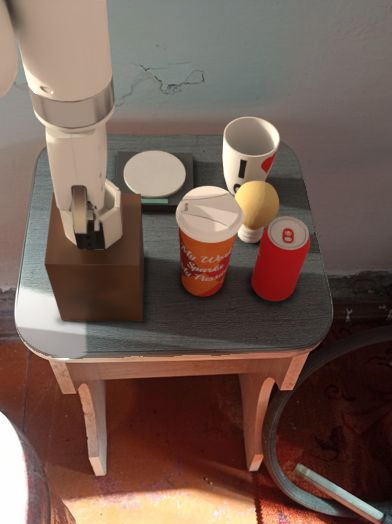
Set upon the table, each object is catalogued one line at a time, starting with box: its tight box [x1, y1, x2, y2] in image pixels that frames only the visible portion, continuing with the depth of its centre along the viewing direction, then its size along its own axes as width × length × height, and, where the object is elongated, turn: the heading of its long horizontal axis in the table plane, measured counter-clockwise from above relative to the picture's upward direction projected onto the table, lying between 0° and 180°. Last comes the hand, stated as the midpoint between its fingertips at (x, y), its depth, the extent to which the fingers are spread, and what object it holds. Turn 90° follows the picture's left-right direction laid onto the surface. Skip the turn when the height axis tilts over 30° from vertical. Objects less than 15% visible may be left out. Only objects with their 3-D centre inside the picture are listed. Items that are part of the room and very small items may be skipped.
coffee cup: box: [175, 185, 244, 297], centre depth 74 cm, size 8×8×15 cm
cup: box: [222, 116, 281, 197], centre depth 85 cm, size 8×8×10 cm
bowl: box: [59, 178, 123, 250], centre depth 66 cm, size 7×7×5 cm
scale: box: [115, 150, 195, 213], centre depth 88 cm, size 12×11×2 cm
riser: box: [43, 191, 145, 322], centre depth 74 cm, size 11×11×13 cm
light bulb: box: [234, 181, 280, 244], centre depth 81 cm, size 6×6×10 cm
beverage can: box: [251, 215, 311, 302], centre depth 76 cm, size 6×6×12 cm
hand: (93, 220), depth 67 cm, fingers open, 7 cm apart
